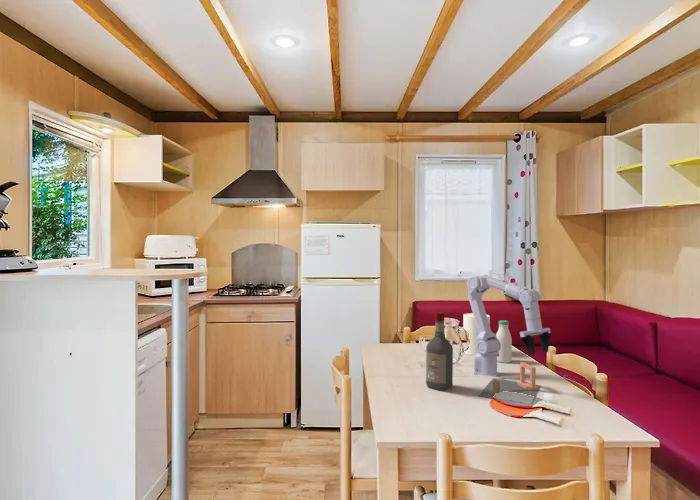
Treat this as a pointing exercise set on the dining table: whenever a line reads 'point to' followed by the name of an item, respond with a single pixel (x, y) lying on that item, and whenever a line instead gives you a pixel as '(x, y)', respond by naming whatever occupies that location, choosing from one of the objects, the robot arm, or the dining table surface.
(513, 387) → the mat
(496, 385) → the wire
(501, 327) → the milk bottle
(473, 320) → the canister
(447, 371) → the liquor
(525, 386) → the orange rectangular frame
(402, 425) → the dining table surface
